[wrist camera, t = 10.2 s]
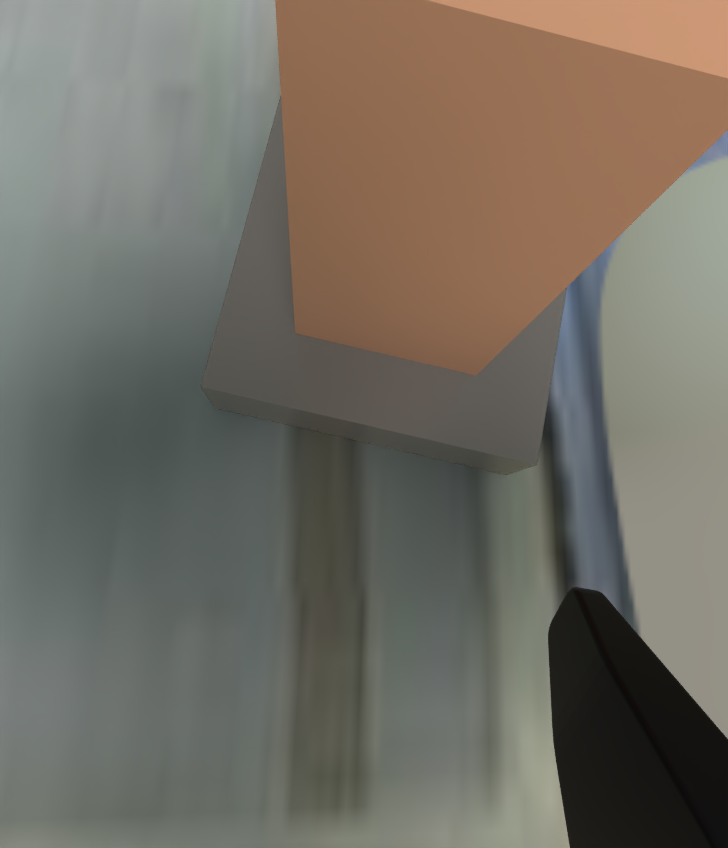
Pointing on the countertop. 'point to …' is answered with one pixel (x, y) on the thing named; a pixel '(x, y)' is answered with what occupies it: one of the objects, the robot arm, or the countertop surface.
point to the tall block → (479, 155)
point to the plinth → (366, 363)
